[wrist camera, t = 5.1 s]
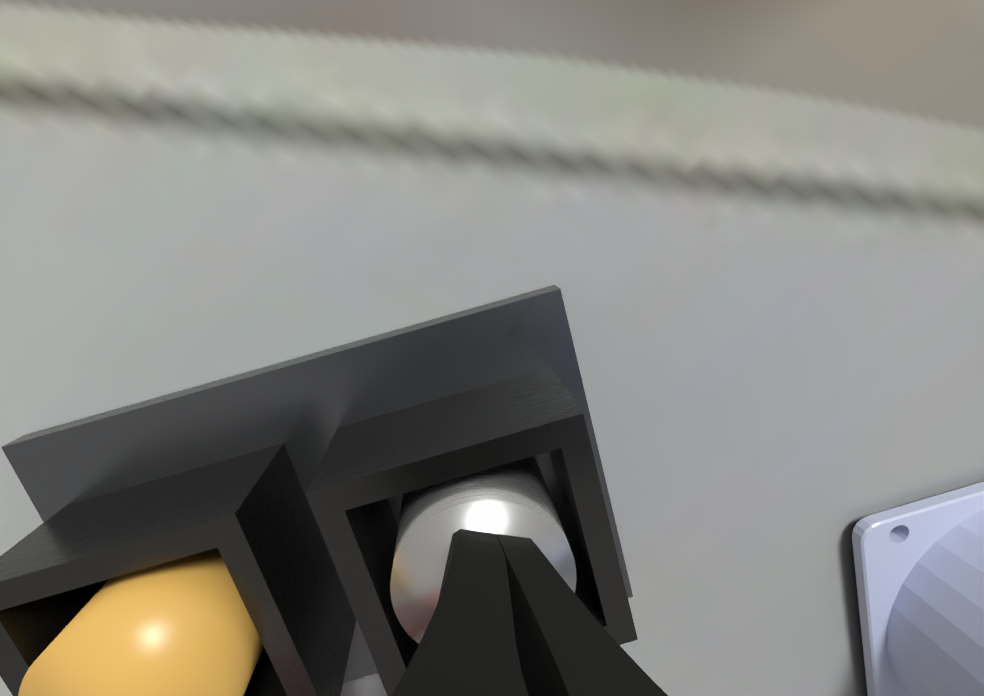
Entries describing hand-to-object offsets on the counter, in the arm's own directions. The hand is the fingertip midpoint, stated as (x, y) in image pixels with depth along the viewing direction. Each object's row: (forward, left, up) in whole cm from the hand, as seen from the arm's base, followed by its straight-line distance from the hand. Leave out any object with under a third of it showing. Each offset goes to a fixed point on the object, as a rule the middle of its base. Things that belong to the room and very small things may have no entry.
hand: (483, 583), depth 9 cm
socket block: (+3, 0, -4) cm, 5 cm away
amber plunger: (+6, 0, -2) cm, 6 cm away
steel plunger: (0, 0, -3) cm, 3 cm away
